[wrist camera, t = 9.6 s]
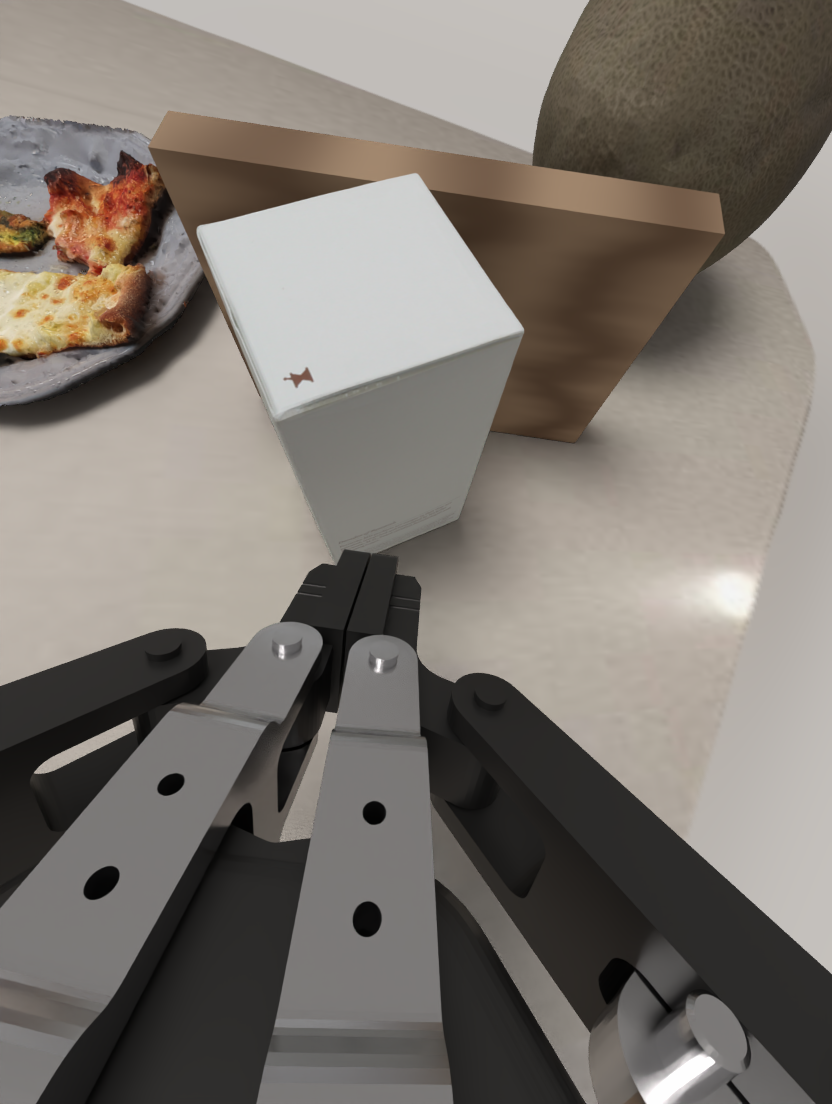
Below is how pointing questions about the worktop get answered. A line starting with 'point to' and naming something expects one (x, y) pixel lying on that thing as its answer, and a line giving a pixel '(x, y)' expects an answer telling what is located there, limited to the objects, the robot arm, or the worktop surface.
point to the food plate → (83, 255)
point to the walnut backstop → (483, 244)
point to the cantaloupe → (694, 100)
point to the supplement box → (368, 352)
